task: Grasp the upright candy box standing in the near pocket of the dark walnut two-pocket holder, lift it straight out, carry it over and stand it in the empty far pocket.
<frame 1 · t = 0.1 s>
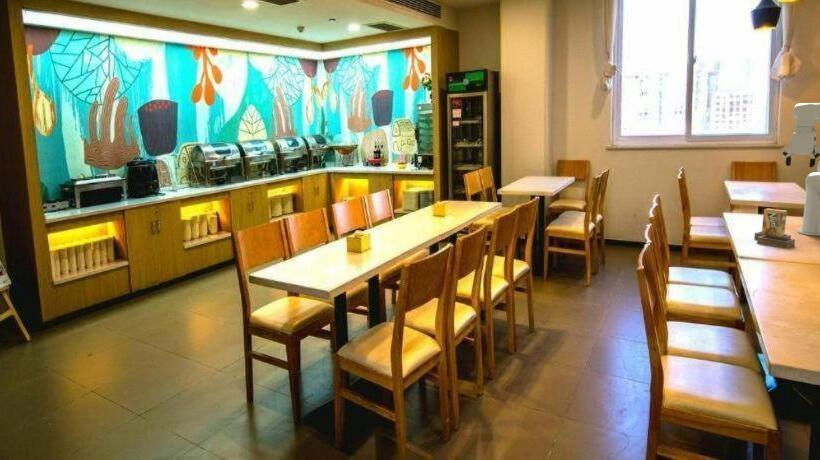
hand: (799, 166, 265), 37 cm above the table, tool pointing down, fingers open, 9 cm apart
holder: (773, 242, 271), on the table
candy box: (772, 240, 275), resting in holder
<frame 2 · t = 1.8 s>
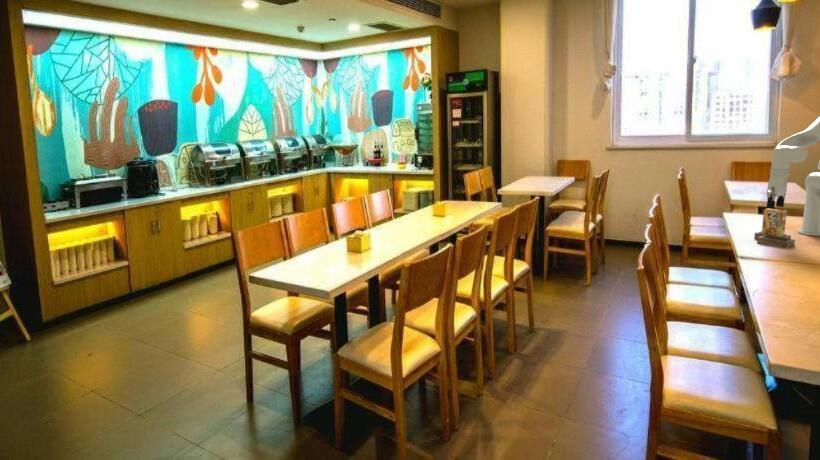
hand: (775, 207, 271), 16 cm above the table, tool pointing down, fingers open, 9 cm apart
nothing on the table moved.
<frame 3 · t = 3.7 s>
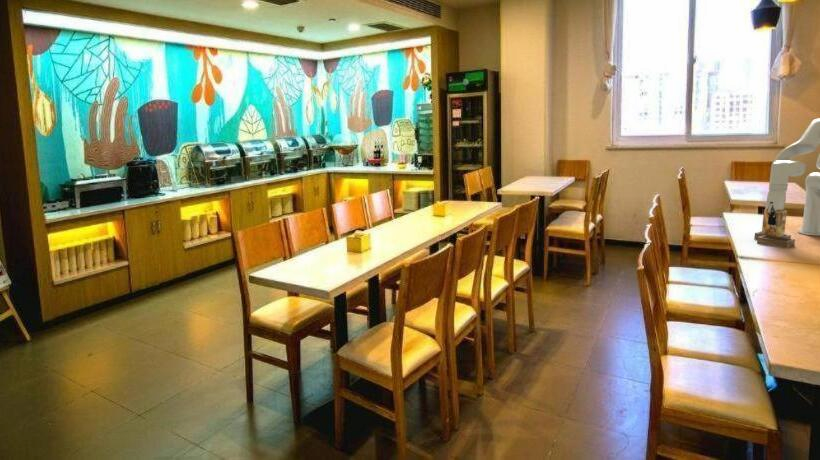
hand: (773, 223, 273), 8 cm above the table, tool pointing down, fingers closed on candy box, 4 cm apart
candy box: (771, 240, 275), resting in holder, touching gripper
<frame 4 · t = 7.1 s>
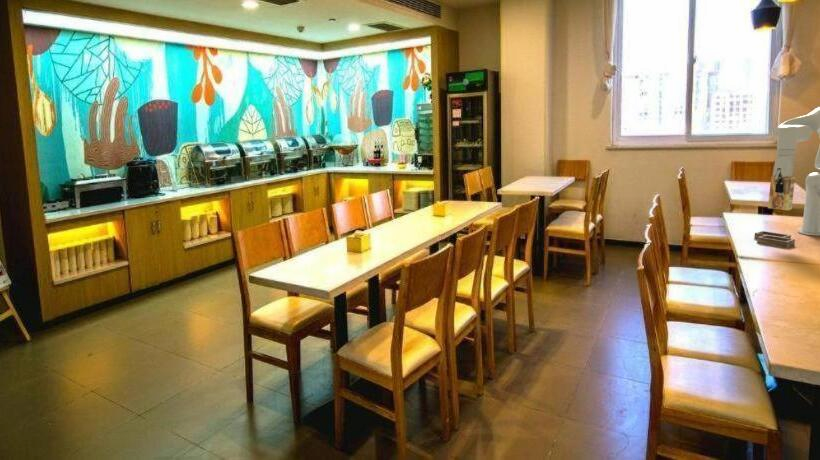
hand: (781, 191, 261), 26 cm above the table, tool pointing down, fingers closed on candy box, 4 cm apart
candy box: (779, 209, 263), point 17 cm above the table, touching gripper
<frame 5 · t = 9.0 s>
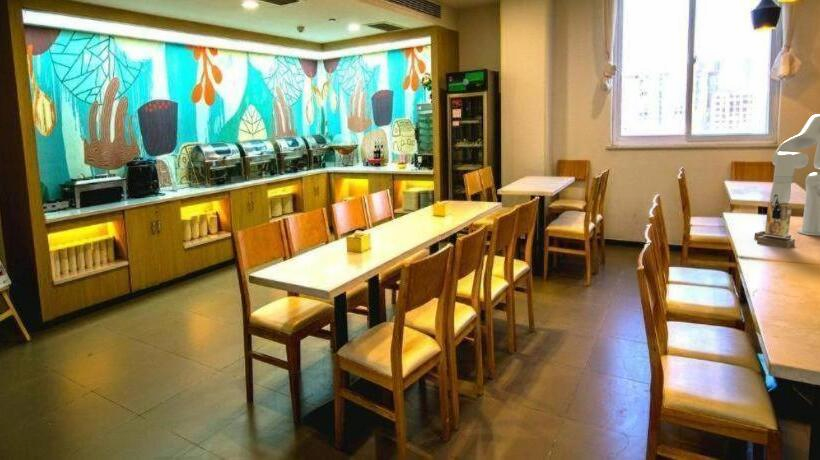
hand: (778, 217, 264), 13 cm above the table, tool pointing down, fingers closed on candy box, 4 cm apart
candy box: (776, 234, 266), point 5 cm above the table, touching gripper
when the fingers open (9 cm above the table, at t = 10.6 s): candy box stays where it is, resting in holder.
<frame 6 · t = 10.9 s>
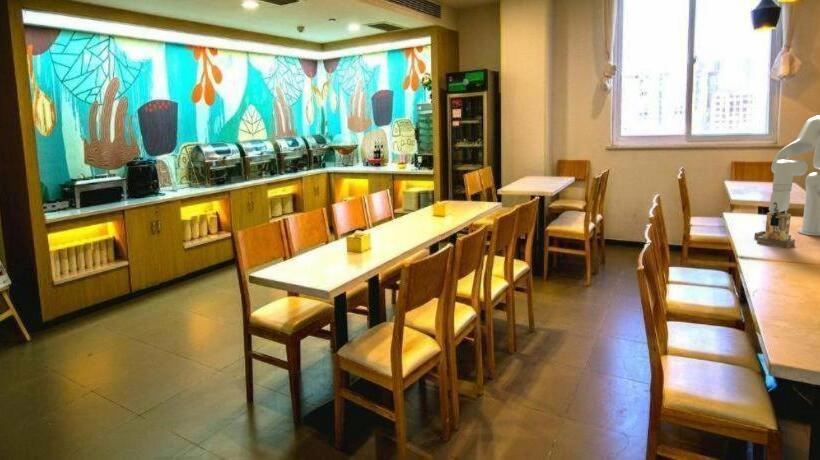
hand: (777, 224, 265), 10 cm above the table, tool pointing down, fingers open, 6 cm apart
candy box: (775, 244, 267), resting in holder
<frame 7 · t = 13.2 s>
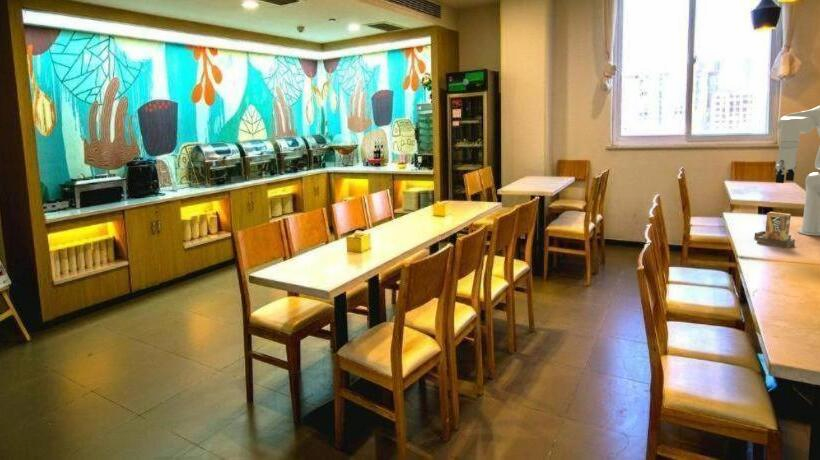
hand: (784, 181, 260), 30 cm above the table, tool pointing down, fingers open, 9 cm apart
nothing on the table moved.
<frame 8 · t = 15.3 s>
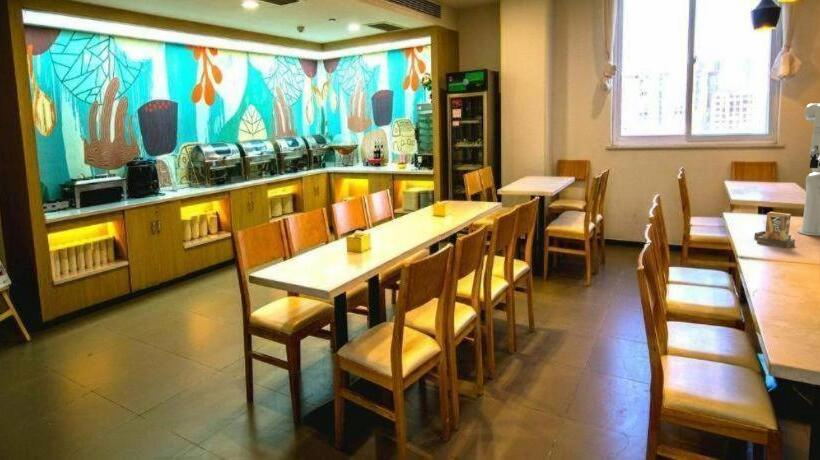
hand: (818, 167, 263), 36 cm above the table, tool pointing down, fingers open, 9 cm apart
nothing on the table moved.
at the end: candy box 0.2 cm from the target spot on the holder, point 0.0 cm above the holder's base; candy box tilted 0°; the gripper is holding nothing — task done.
